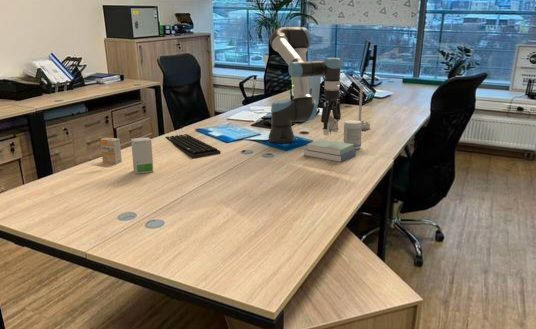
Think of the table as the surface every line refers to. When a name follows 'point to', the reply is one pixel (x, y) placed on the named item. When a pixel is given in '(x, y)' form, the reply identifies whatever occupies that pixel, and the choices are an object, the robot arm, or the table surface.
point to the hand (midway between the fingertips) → (330, 133)
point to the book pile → (330, 150)
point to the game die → (332, 124)
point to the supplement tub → (353, 133)
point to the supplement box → (111, 150)
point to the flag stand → (367, 124)
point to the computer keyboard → (192, 146)
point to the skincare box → (142, 155)
